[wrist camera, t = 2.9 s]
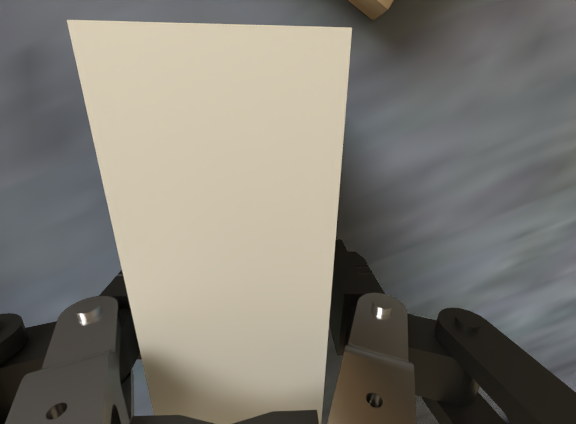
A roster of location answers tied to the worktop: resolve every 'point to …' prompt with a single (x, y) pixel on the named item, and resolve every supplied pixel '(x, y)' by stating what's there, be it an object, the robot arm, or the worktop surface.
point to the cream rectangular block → (222, 203)
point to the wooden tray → (372, 7)
